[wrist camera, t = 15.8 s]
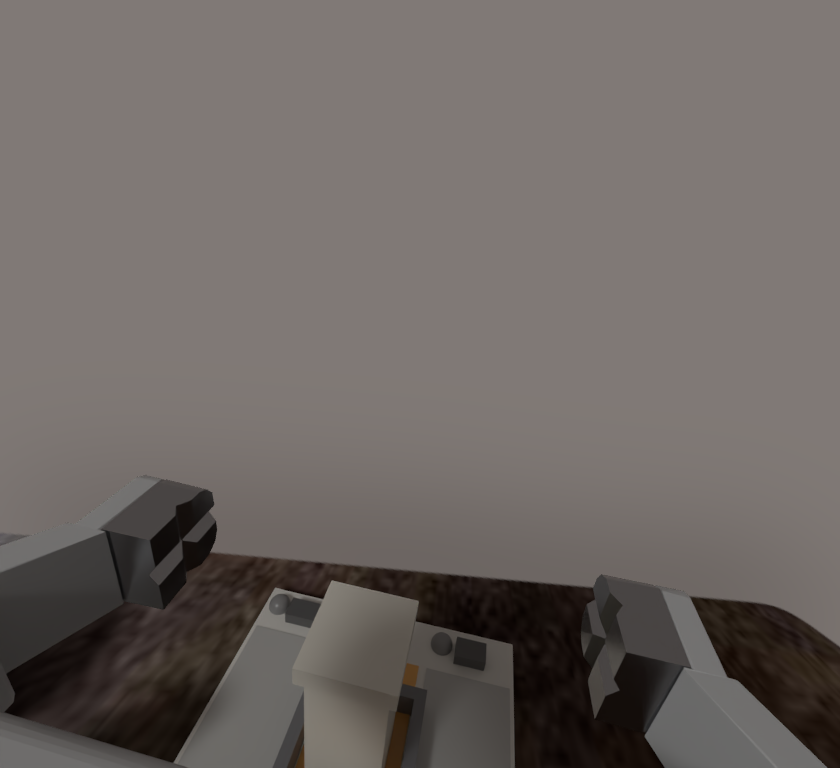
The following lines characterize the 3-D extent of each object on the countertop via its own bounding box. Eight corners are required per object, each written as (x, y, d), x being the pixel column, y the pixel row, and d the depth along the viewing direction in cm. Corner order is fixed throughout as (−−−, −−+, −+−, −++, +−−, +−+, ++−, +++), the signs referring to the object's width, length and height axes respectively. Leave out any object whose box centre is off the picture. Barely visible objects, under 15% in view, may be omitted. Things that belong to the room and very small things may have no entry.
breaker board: (509, 653, 37) (517, 628, 35) (514, 1022, 20) (528, 1000, 19) (275, 597, 39) (274, 571, 38) (112, 885, 23) (100, 857, 21)
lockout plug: (400, 724, 30) (418, 601, 25) (380, 823, 25) (398, 696, 20) (327, 704, 30) (331, 580, 25) (295, 798, 26) (292, 668, 21)
